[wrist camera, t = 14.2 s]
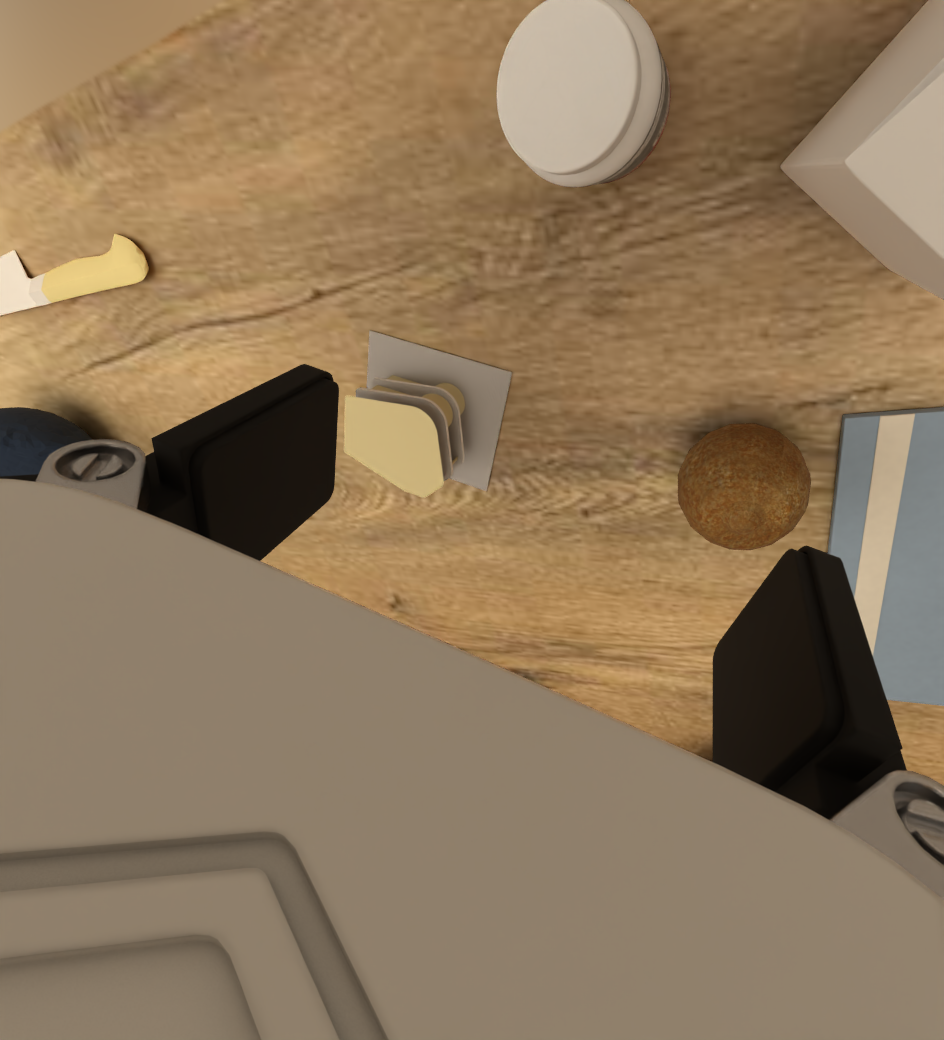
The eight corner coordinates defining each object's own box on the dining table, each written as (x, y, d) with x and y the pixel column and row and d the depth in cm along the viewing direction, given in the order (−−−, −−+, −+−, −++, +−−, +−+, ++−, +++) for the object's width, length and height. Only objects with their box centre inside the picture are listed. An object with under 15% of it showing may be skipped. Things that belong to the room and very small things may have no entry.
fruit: (658, 442, 33) (646, 507, 26) (759, 379, 29) (773, 437, 23) (718, 517, 34) (720, 597, 27) (823, 465, 30) (853, 544, 24)
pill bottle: (524, 113, 26) (447, 89, 19) (620, -5, 23) (576, -96, 15) (596, 211, 28) (551, 227, 20) (698, 111, 24) (693, 82, 16)
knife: (-109, 290, 50) (-87, 340, 51) (121, 207, 36) (143, 278, 38) (-92, 290, 51) (-70, 339, 52) (138, 210, 38) (158, 279, 39)
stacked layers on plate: (364, 448, 41) (322, 481, 36) (369, 330, 35) (322, 352, 31) (486, 491, 39) (458, 531, 34) (512, 372, 33) (483, 402, 29)
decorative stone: (64, 485, 57) (-39, 535, 50) (21, 377, 51) (-106, 415, 43) (151, 514, 55) (57, 572, 47) (117, 404, 48) (1, 450, 40)
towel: (842, 414, 28) (844, 419, 28) (1106, 394, 24) (1116, 399, 24) (813, 686, 38) (814, 693, 37) (1000, 704, 34) (1005, 713, 33)
